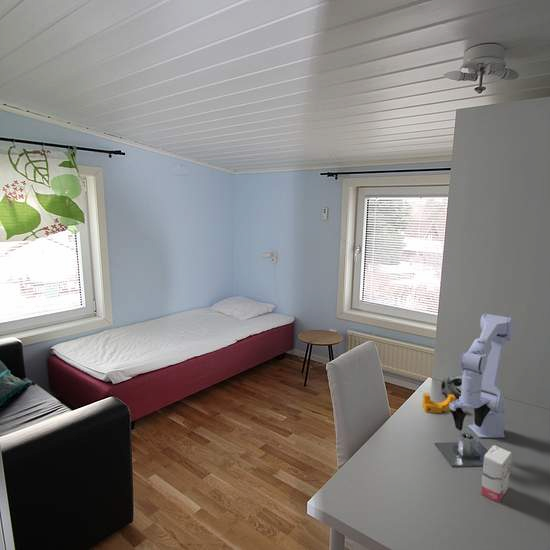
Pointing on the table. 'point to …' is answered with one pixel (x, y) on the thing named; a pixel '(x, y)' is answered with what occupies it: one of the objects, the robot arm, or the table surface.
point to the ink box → (496, 473)
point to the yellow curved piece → (437, 404)
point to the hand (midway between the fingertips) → (468, 427)
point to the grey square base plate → (462, 454)
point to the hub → (467, 443)
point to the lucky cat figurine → (452, 386)
